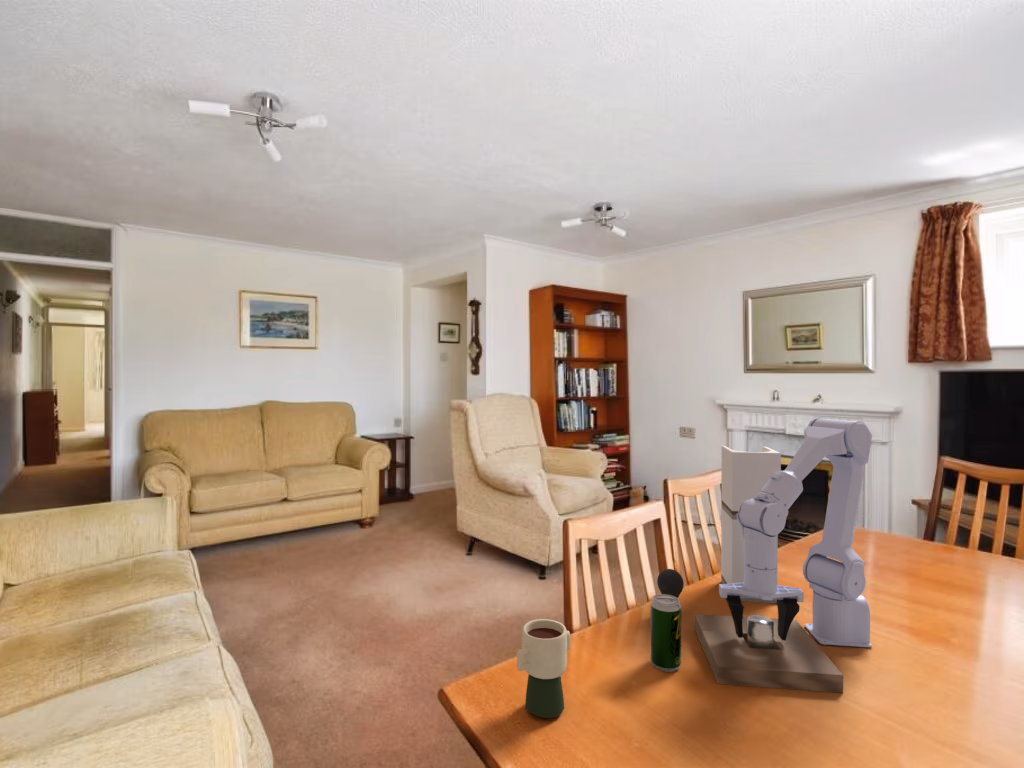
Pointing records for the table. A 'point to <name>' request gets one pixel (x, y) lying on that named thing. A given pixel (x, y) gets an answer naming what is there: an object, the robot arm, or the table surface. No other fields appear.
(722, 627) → the housing block
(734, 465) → the tall white column
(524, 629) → the character mug
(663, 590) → the light bulb
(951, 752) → the table surface
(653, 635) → the green drink can
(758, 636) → the shiny metal cylinder
